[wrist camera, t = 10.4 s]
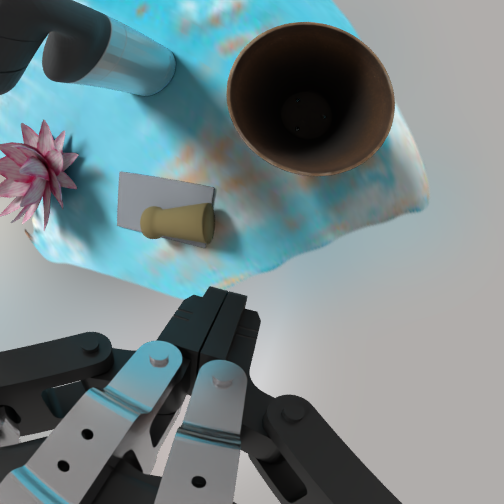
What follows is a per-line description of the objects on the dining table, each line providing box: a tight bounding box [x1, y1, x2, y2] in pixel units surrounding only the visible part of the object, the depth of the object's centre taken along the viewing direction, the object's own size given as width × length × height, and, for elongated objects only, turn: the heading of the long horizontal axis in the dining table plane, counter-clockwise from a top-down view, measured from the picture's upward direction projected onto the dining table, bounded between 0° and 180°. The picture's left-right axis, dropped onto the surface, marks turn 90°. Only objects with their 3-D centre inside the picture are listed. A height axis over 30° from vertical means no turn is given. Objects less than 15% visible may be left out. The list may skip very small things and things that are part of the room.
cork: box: [140, 203, 215, 244], centre depth 40 cm, size 6×6×11 cm
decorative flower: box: [0, 120, 79, 230], centre depth 36 cm, size 21×21×15 cm
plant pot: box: [227, 22, 395, 176], centre depth 27 cm, size 15×15×16 cm
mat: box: [117, 172, 214, 248], centre depth 43 cm, size 18×10×1 cm, turn 79°
